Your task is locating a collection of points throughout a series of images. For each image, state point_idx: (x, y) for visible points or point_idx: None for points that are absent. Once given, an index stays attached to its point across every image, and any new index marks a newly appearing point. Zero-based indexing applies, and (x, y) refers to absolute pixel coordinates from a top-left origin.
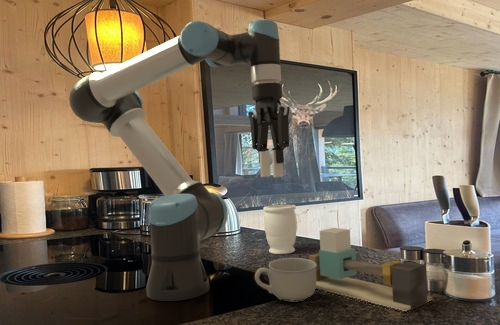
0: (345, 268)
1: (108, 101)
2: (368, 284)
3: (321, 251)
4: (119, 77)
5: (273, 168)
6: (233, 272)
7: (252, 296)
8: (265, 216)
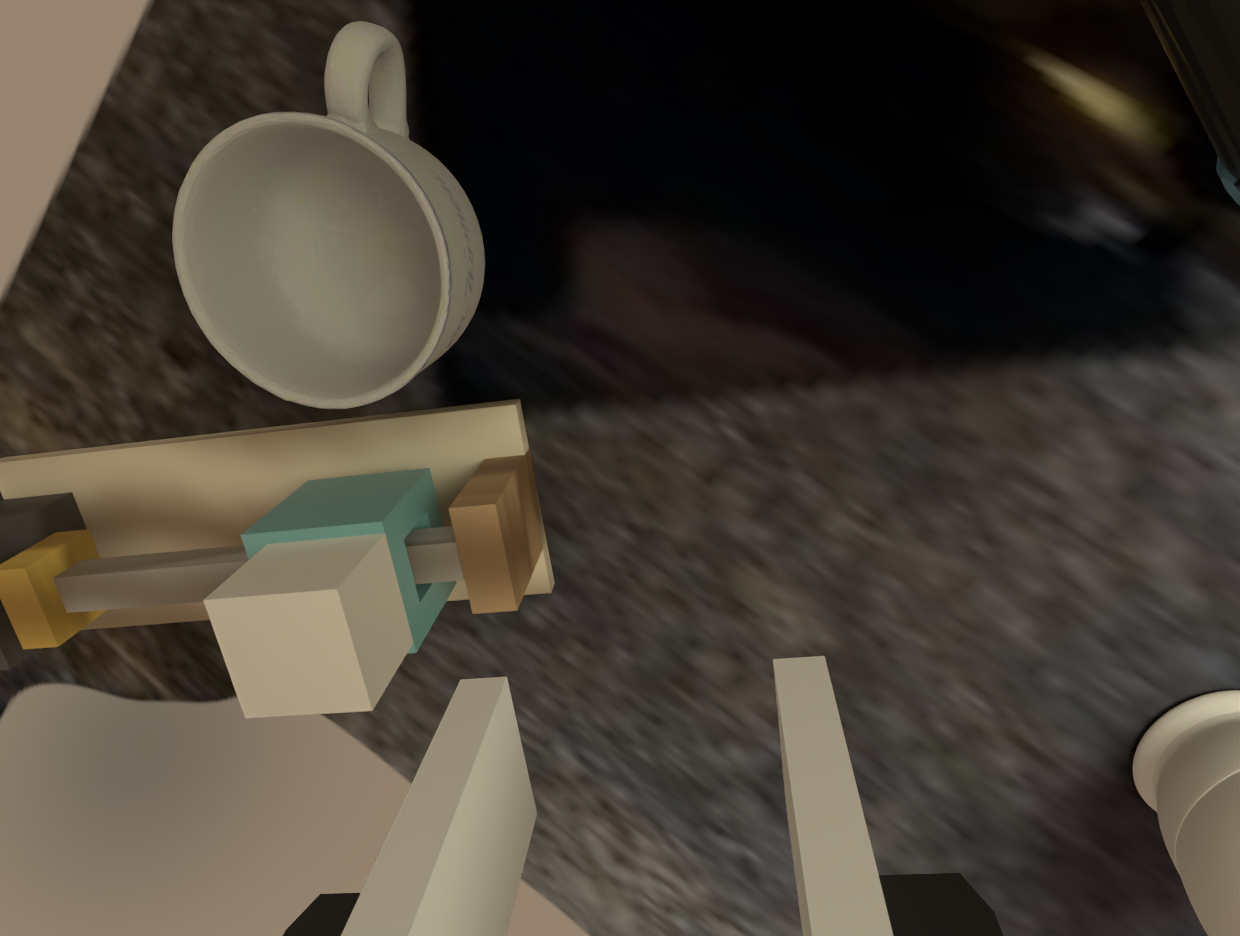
0: None
1: None
2: None
3: (364, 520)
4: None
5: (448, 773)
6: (1061, 267)
7: (541, 92)
8: None
